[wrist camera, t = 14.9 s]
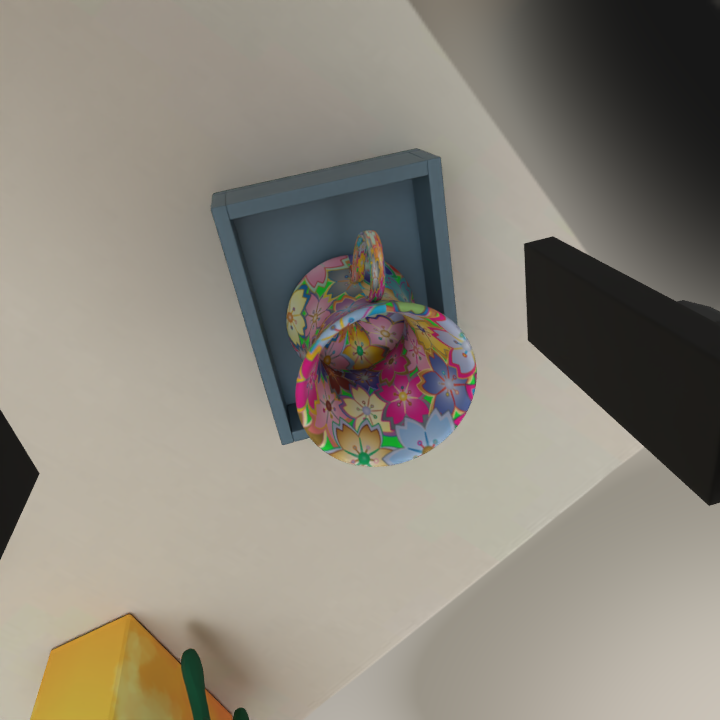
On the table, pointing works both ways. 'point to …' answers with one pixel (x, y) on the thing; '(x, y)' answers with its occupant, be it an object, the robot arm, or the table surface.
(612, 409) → the robot arm
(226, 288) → the table surface
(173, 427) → the table surface
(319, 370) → the mug
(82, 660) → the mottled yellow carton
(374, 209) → the tub
